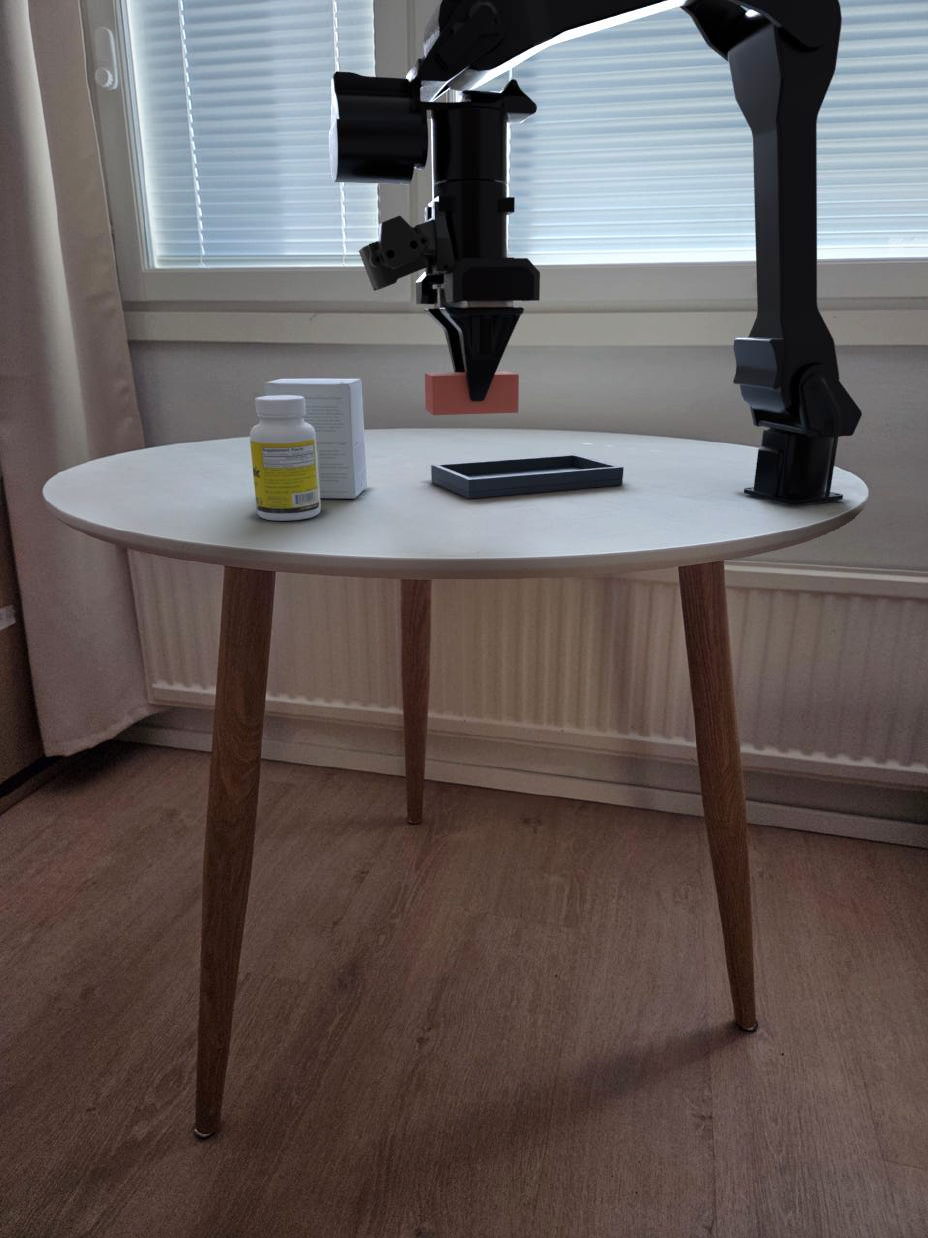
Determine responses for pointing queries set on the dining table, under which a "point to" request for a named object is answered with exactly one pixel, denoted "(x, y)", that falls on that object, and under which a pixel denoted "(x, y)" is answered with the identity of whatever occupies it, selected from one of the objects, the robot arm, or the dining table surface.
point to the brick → (453, 396)
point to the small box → (332, 430)
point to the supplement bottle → (284, 460)
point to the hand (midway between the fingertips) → (471, 398)
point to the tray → (525, 475)
